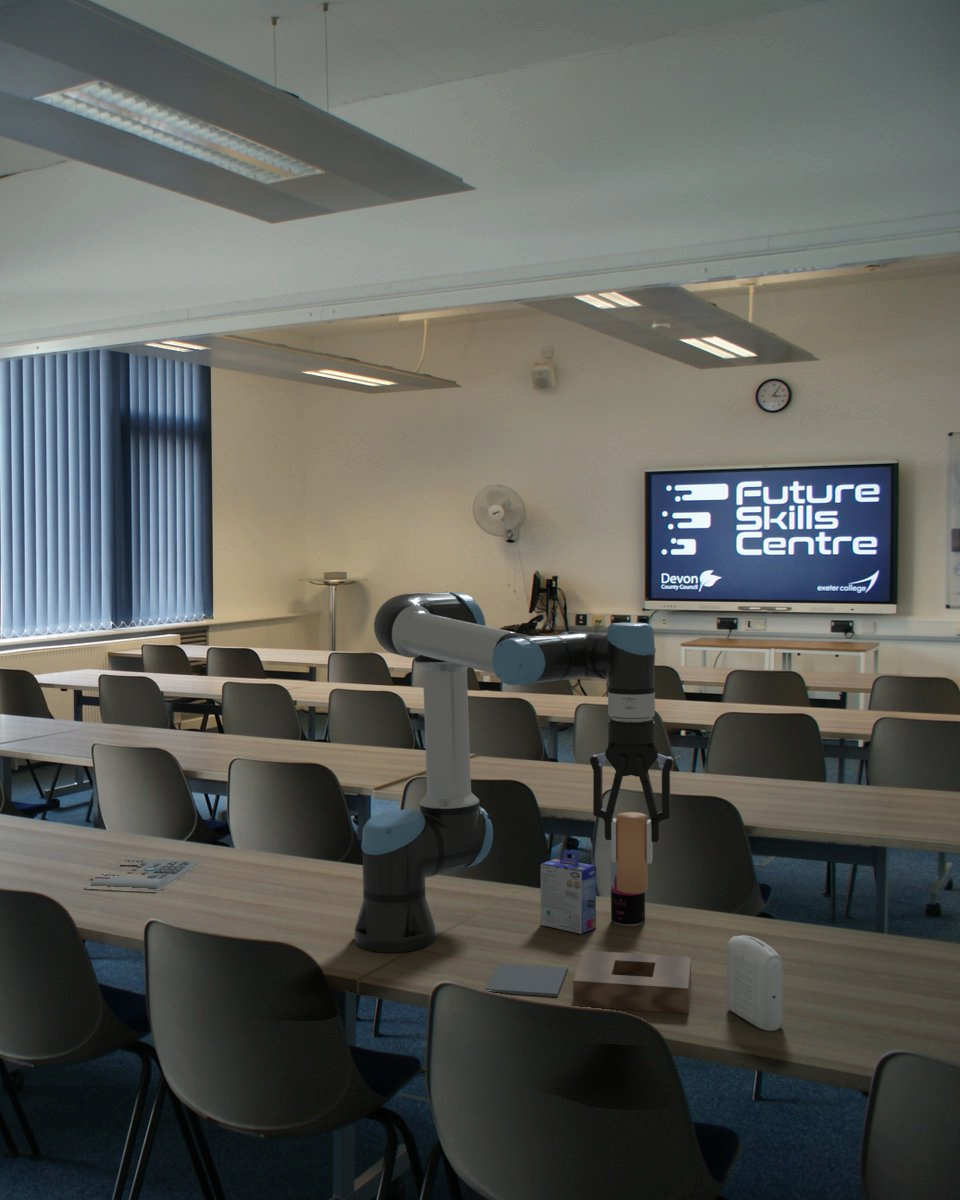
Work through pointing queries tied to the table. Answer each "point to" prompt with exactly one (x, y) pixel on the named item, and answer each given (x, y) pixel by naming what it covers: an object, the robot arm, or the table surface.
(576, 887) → the ink cartridge box
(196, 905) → the table surface
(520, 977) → the mat
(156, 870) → the office telephone
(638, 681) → the robot arm
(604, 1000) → the pocket block
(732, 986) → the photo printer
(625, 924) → the beverage can
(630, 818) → the peg
